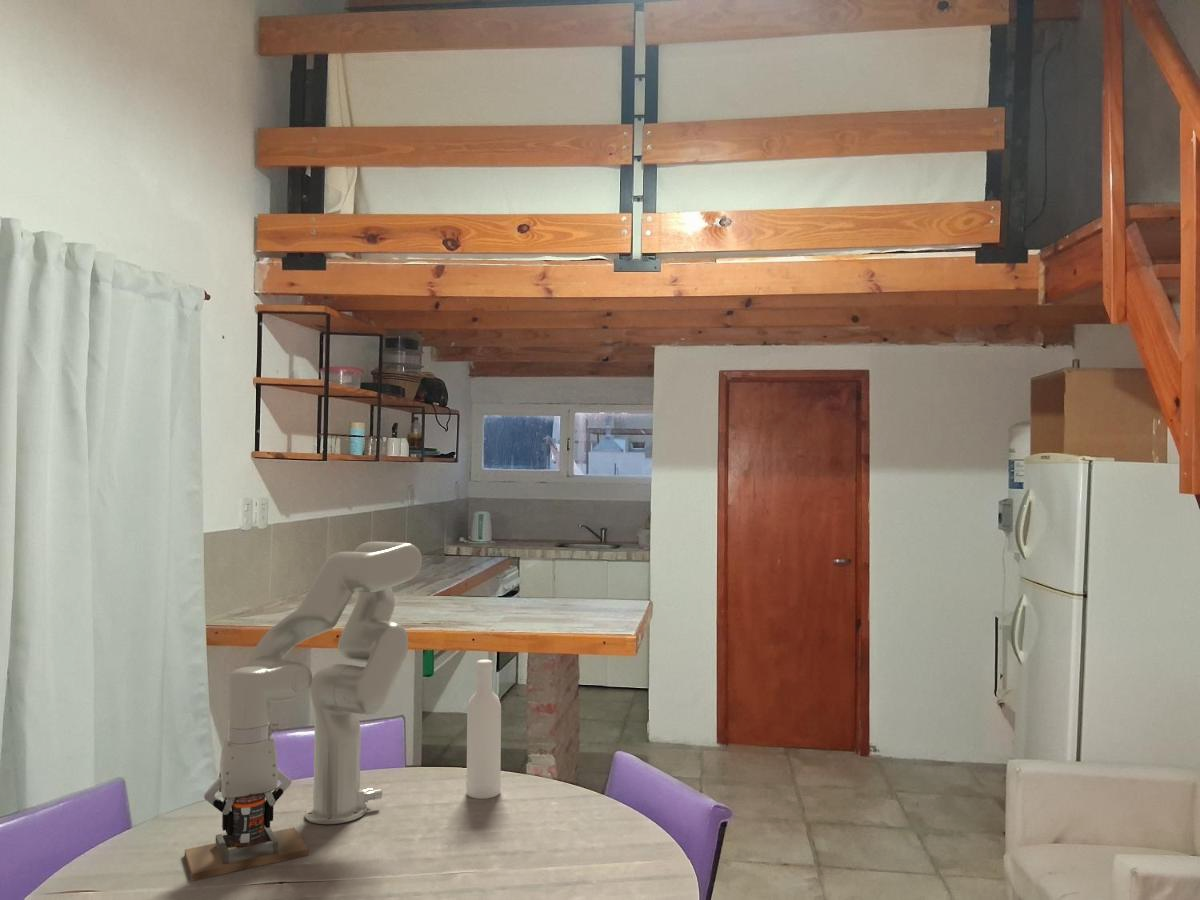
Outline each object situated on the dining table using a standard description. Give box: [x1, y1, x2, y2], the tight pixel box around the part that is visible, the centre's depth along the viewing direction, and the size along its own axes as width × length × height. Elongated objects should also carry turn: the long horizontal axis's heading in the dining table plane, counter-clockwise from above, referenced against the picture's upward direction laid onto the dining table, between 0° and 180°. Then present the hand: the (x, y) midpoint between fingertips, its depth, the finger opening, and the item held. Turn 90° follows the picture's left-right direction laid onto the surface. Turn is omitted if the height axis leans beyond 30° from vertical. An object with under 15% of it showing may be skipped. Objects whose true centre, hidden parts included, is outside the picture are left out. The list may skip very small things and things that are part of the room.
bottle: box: [465, 659, 502, 800], centre depth 195 cm, size 8×8×30 cm
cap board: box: [184, 826, 309, 881], centre depth 161 cm, size 20×12×3 cm, turn 122°
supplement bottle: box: [231, 793, 266, 848], centre depth 161 cm, size 6×6×11 cm
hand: (247, 828), depth 161 cm, fingers closed on supplement bottle, 6 cm apart
